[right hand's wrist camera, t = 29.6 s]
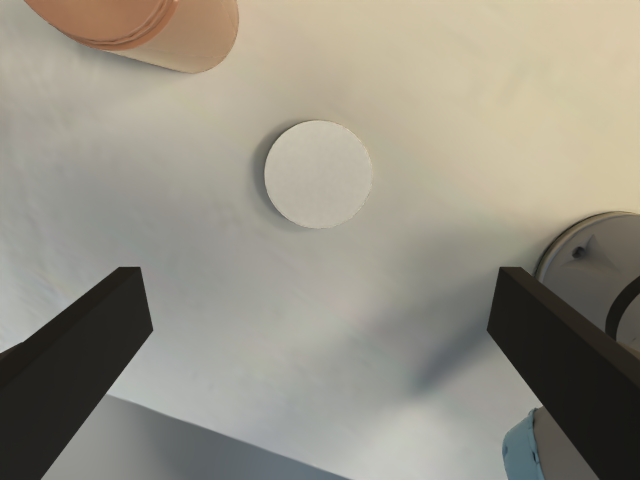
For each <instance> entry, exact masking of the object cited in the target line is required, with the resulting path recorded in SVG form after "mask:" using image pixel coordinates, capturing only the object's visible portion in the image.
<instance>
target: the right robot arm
mask: <svg viewBox="0 0 640 480" xmlns="http://www.w3.org/2000/svg"><path fill="white" fill-rule="evenodd" d="M152 331H153V326H152V322H151V317H150V312H149V307H148V302H147V297H146V293H145V288H144V283H143V278H142V273H141V268H140V267H119V268H117V269H116V270H115V271H113V272H112V273H111V274H110V275H108V276H107V277H106V278H104V279H103V280H102V281H101V282H99V283H98V284H97V285H96V286H94V287H93V288H92V289H90V290H89V291H88V292H87V293H85V294H84V295H83V296H81V297H80V298H79V299H78V300H76V301H75V302H74V303H73V304H71V305H70V306H69V307H67V308H66V309H65V310H64V311H62V312H61V313H60V314H58V315H57V316H56V317H55V318H53V319H52V320H51V321H50V322H48V323H47V324H46V325H44V326H43V327H42V328H41V329H39V330H38V331H37V332H35V333H34V334H33V335H32V336H30V337H29V338H28V339H27V340H25V341H24V342H21V343H19V344H17V345H15V346H14V347H12V348H10V349H8V350H6V351H4V352H2V353H0V480H41V478H42V477H43V476H44V474H45V473H46V472H47V470H48V469H49V468H50V466H51V465H52V464H53V463H54V461H55V460H56V459H57V457H58V456H59V455H60V453H61V452H62V451H63V449H64V448H65V447H66V445H67V444H68V443H69V441H70V440H71V439H72V437H73V436H74V435H75V433H76V432H77V431H78V429H79V428H80V427H81V425H82V424H83V423H84V421H85V420H86V419H87V418H88V416H89V415H90V413H91V412H92V411H93V410H94V408H95V407H96V406H97V404H98V403H99V402H100V400H101V399H102V398H103V396H104V395H105V394H106V392H107V391H108V390H109V388H110V387H111V386H112V384H113V383H114V382H115V380H116V379H117V378H118V377H119V375H120V374H121V373H122V371H123V370H124V369H125V367H126V366H127V365H128V363H129V362H130V361H131V359H132V358H133V357H134V355H135V354H136V353H137V351H138V350H139V349H140V347H141V346H142V345H143V343H144V342H145V341H146V339H147V338H148V337H149V335H150V334H151V333H152ZM487 332H488V333H489V334H490V335H491V337H492V338H493V339H494V341H495V342H496V343H497V345H498V346H499V347H500V349H501V350H502V351H503V353H504V354H505V355H506V357H507V358H508V359H509V361H510V362H511V363H512V365H513V366H514V367H515V369H516V370H517V371H518V373H519V374H520V375H521V377H522V378H523V379H524V380H525V382H526V383H527V384H528V386H529V387H530V388H531V390H532V391H533V392H534V394H535V395H536V396H537V398H538V399H539V400H540V402H541V403H542V404H543V406H542V407H541V408H539V409H537V408H535V409H533V410H531V411H530V413H529V416H528V417H527V418H525V419H524V420H523V421H521V422H520V423H519V424H517V425H516V426H515V427H514V428H512V429H511V430H510V431H509V432H508V433H507V434H506V436H505V438H504V440H503V445H502V455H503V460H504V466H505V470H506V473H507V477H508V479H509V480H640V215H639V214H635V213H629V212H612V213H606V214H601V215H597V216H594V217H591V218H589V219H586V220H584V221H582V222H580V223H578V224H577V225H575V226H573V227H572V228H570V229H569V230H567V231H566V232H565V233H563V234H562V235H561V236H560V237H559V238H558V239H557V240H556V241H555V242H554V243H553V244H552V245H551V246H550V248H549V249H548V250H547V252H546V253H545V255H544V256H543V258H542V260H541V262H540V264H539V266H538V269H537V272H536V276H535V278H534V277H533V276H532V275H530V274H529V273H528V272H527V271H525V270H524V269H523V268H521V267H500V268H499V273H498V278H497V283H496V288H495V293H494V297H493V302H492V307H491V312H490V317H489V322H488V326H487Z"/></svg>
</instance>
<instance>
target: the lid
mask: <svg viewBox="0 0 640 480" xmlns="http://www.w3.org/2000/svg"><path fill="white" fill-rule="evenodd" d="M264 179H265V186H266V190H267V193H268V195H269V198H270V200H271V201H272V203H273V205H274V206H275V207H276V209H277V210H278V211H279V212H280V213H281V214H282V215H283V216H284V217H286V218H287V219H288V220H290V221H292V222H293V223H295V224H298V225H300V226H303V227H307V228H315V229H322V228H329V227H334V226H337V225H339V224H341V223H343V222H345V221H347V220H348V219H350V218H351V217H353V216H354V215H355V214H356V213H357V212H358V211H359V210H360V209H361V207H362V206H363V204H364V203H365V201H366V199H367V197H368V195H369V192H370V189H371V185H372V165H371V160H370V157H369V154H368V152H367V150H366V148H365V146H364V145H363V143H362V142H361V141H360V140H359V138H358V137H357V136H356V135H355V134H353V133H352V132H351V131H350V130H348V129H347V128H345V127H343V126H341V125H339V124H337V123H334V122H331V121H326V120H311V121H306V122H302V123H300V124H297V125H295V126H293V127H292V128H290V129H288V130H287V131H286V132H284V133H283V134H282V135H281V136H280V137H279V138H278V139H277V140H276V142H275V143H274V144H273V146H272V148H271V149H270V151H269V154H268V156H267V159H266V163H265V170H264Z"/></svg>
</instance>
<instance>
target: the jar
mask: <svg viewBox="0 0 640 480" xmlns="http://www.w3.org/2000/svg"><path fill="white" fill-rule="evenodd" d="M24 1H25V2H26V3H27V4H28V5H29V6H30V7H31V8H32V9H33V10H34V11H35V12H36V13H37V14H38V15H39V16H41V17H42V18H43V19H44V20H46V21H47V22H48V23H49V24H50V25H52V26H54V27H55V28H57V29H58V30H59V31H60V32H62V33H63V34H65V35H66V36H68V37H69V38H71V39H73V40H75V41H77V42H79V43H81V44H84V45H86V46H89V47H91V48H95V49H99V50H102V51H106V52H110V53H113V54H117V55H121V56H124V57H128V58H132V59H135V60H139V61H143V62H146V63H150V64H154V65H157V66H161V67H165V68H168V69H172V70H176V71H180V72H185V73H198V72H203V71H206V70H209V69H211V68H213V67H215V66H216V65H218V64H219V63H220V62H221V61H222V60H223V59H224V58H225V57H226V56H227V55H228V53H229V52H230V50H231V48H232V46H233V44H234V42H235V39H236V35H237V31H238V23H239V14H238V5H237V1H236V0H24Z"/></svg>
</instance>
